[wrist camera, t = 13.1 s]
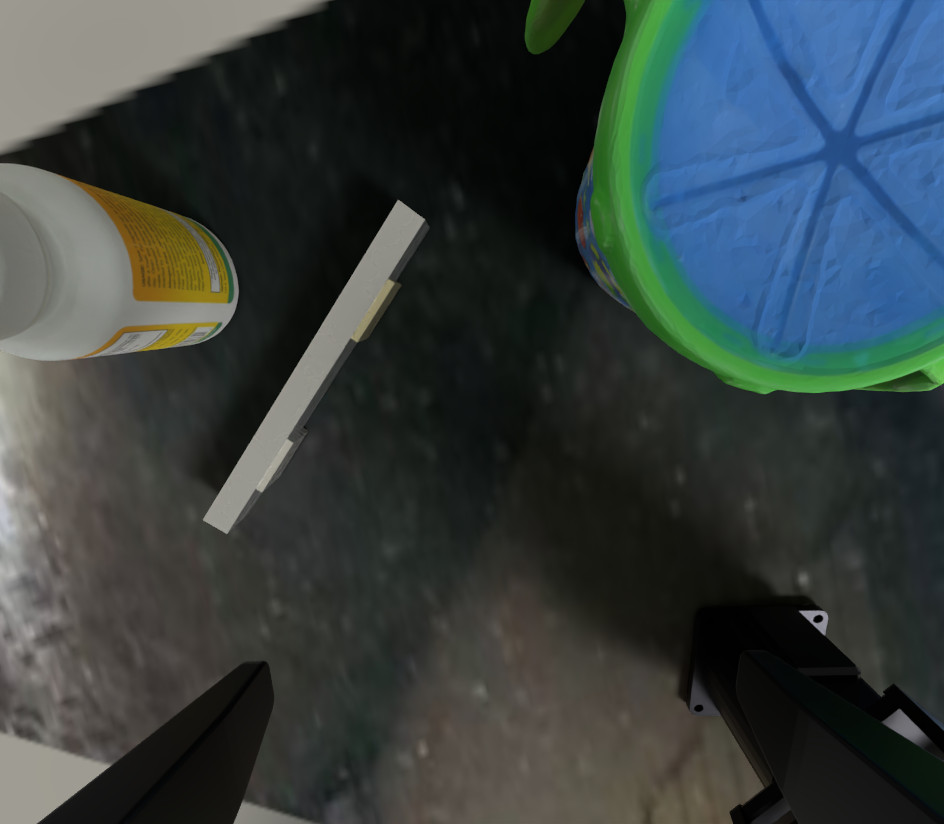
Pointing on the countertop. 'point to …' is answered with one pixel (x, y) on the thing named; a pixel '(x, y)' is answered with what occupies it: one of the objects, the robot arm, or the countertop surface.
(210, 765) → the robot arm
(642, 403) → the countertop surface
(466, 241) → the countertop surface
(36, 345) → the supplement bottle
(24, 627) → the countertop surface
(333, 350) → the price rail
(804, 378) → the snack cup
